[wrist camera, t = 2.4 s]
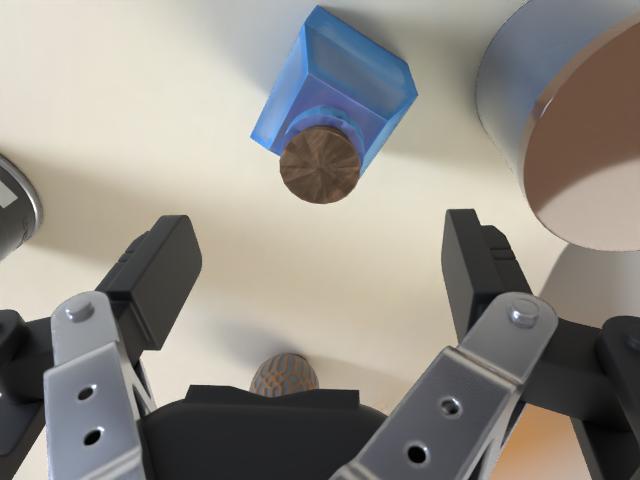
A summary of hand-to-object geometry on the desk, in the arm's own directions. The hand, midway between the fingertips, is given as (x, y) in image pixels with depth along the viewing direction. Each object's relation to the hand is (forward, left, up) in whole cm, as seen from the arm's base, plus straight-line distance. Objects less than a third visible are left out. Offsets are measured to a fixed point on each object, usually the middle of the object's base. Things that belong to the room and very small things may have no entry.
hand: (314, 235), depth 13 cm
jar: (+10, +9, -16) cm, 21 cm away
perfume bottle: (0, 0, -16) cm, 16 cm away
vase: (+15, -25, -16) cm, 33 cm away
